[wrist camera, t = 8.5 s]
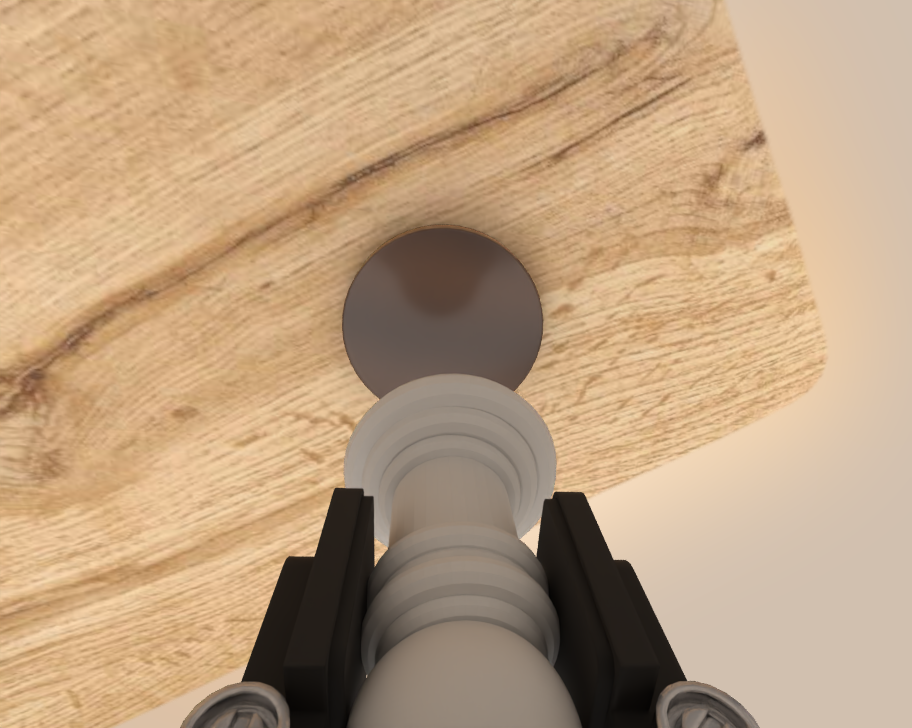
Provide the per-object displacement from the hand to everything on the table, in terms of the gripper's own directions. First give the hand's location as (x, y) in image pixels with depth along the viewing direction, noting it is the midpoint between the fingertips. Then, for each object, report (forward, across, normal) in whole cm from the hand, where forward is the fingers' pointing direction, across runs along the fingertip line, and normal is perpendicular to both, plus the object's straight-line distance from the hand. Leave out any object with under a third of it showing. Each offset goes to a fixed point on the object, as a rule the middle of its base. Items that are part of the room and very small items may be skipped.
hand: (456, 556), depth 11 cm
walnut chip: (+16, 0, 0) cm, 16 cm away
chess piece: (+4, 0, 0) cm, 4 cm away
